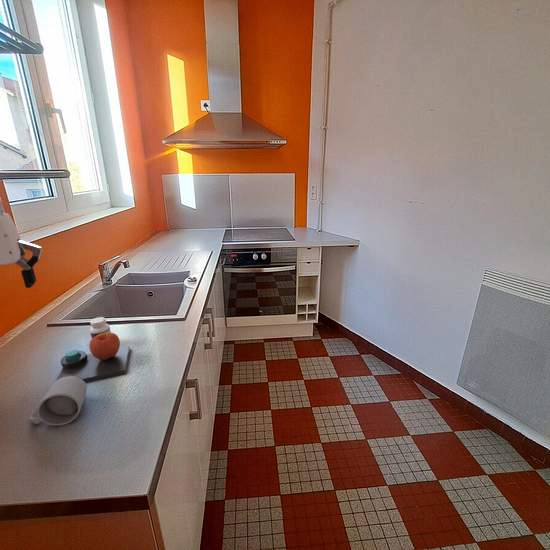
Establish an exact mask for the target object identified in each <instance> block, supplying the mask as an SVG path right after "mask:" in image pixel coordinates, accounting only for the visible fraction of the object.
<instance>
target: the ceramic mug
mask: <svg viewBox="0 0 550 550" xmlns="http://www.w3.org/2000/svg"><path fill="white" fill-rule="evenodd" d="M56 380H57V379H56ZM56 380H55V382H54V383H53V384H51V386H50V388H48V390H47V392H46V393H45V395H44V397H43V398H42V399H41V401H40V402H39V404H38V406H37V408H36V409H35V410H34V411H33V412H32V413H31V415H30V417H29V421H30V422H32V423H33V424H35V425H39V424H41V423H42V422H43V423H45V424H46V425H49V426H64V425H67V424H70V423H71V422H73V421H74V420H75V419H76V418H77V417H78V416H79V414H80V412H81V409H82V406H83V404H84V401H85V398H86V395H87V392H88V391H87V390H88V387H87V382H86V383H85V382H84V381H83V380H82V379H81V378H79V377H76V376H66V377H63V378H60V379H59V380H57V381H56Z"/></svg>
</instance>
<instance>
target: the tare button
mask: <svg viewBox="0 0 550 550" xmlns="http://www.w3.org/2000/svg"><path fill="white" fill-rule="evenodd" d="M79 351H80V350H78V349H73V350H70V351H67V352H66V353H65V356H66V358H67V361H74V360H76V359H78V358H80V354H79Z"/></svg>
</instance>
